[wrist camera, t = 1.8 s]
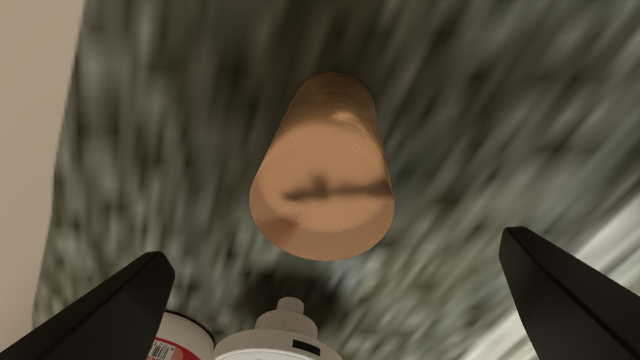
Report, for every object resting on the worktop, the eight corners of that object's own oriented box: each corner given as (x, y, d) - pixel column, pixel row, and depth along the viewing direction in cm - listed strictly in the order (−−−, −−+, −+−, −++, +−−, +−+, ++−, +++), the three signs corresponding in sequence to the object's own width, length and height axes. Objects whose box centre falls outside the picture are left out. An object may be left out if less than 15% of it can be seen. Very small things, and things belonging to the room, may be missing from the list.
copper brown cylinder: (371, 65, 15) (391, 135, 8) (378, 148, 17) (397, 256, 10) (281, 79, 15) (229, 155, 9) (299, 157, 18) (270, 264, 11)
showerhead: (182, 414, 21) (222, 349, 16) (219, 318, 27) (257, 248, 22) (305, 448, 23) (377, 400, 18) (314, 350, 29) (370, 293, 24)
